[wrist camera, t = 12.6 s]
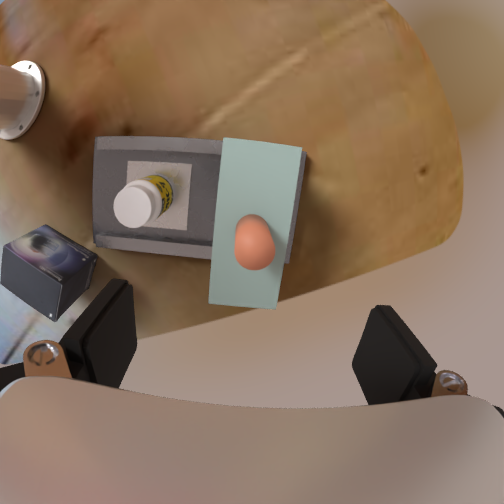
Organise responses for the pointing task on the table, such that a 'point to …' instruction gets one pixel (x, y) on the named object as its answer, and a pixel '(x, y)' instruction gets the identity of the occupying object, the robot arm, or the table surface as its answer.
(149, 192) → the supplement bottle
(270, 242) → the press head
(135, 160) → the base
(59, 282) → the small box
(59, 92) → the table surface
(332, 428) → the robot arm
